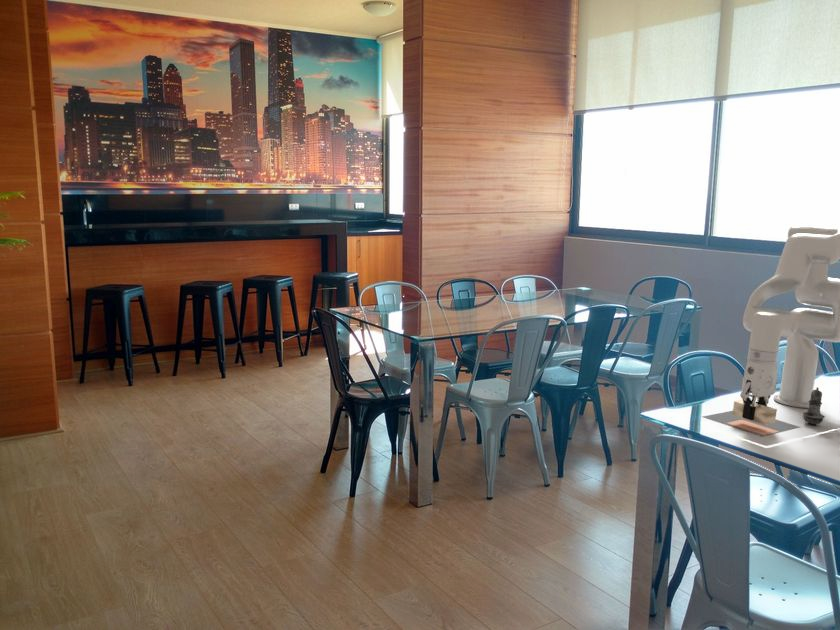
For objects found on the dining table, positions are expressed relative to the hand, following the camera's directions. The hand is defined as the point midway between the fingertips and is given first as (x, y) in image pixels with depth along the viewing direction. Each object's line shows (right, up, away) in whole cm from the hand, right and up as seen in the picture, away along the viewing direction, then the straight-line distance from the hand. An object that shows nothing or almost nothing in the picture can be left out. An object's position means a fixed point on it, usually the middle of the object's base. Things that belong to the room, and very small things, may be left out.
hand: (753, 417), depth 207 cm
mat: (+2, -3, +6) cm, 7 cm away
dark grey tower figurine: (+20, -4, +7) cm, 22 cm away
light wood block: (0, 0, 0) cm, 1 cm away
